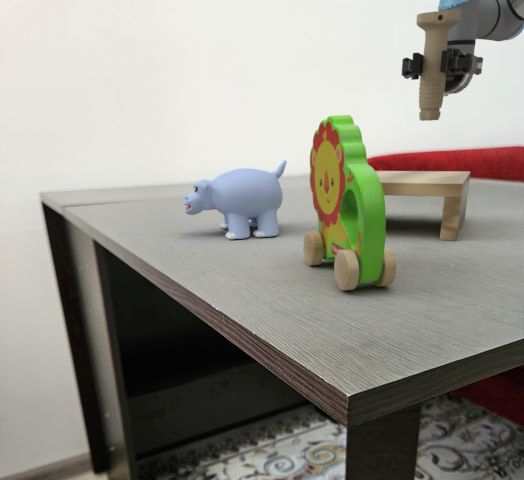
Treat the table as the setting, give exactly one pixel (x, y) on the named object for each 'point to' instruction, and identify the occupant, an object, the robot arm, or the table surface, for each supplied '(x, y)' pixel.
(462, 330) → the table surface
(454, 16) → the handle
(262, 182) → the hippopotamus toy
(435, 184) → the shelf stand
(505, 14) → the robot arm
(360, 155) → the toy lion
